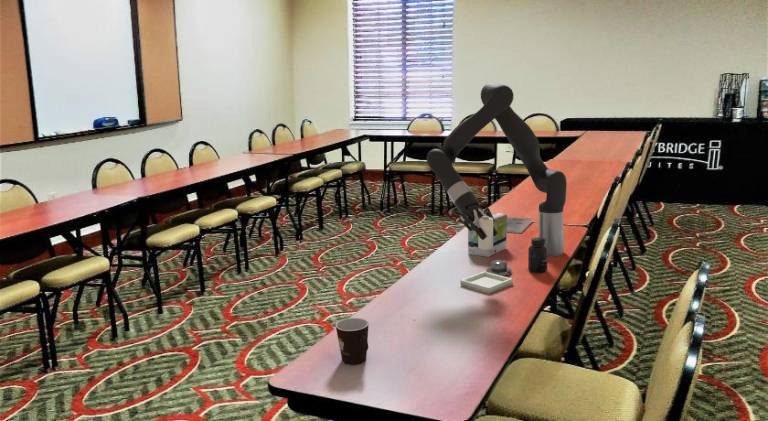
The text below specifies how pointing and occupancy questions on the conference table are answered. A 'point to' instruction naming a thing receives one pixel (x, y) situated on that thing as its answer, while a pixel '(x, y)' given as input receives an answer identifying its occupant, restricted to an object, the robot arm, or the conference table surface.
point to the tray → (486, 282)
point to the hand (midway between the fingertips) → (490, 236)
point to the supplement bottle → (537, 256)
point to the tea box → (498, 240)
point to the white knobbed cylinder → (487, 227)
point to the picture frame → (517, 224)
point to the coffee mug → (353, 340)
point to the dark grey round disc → (499, 268)
